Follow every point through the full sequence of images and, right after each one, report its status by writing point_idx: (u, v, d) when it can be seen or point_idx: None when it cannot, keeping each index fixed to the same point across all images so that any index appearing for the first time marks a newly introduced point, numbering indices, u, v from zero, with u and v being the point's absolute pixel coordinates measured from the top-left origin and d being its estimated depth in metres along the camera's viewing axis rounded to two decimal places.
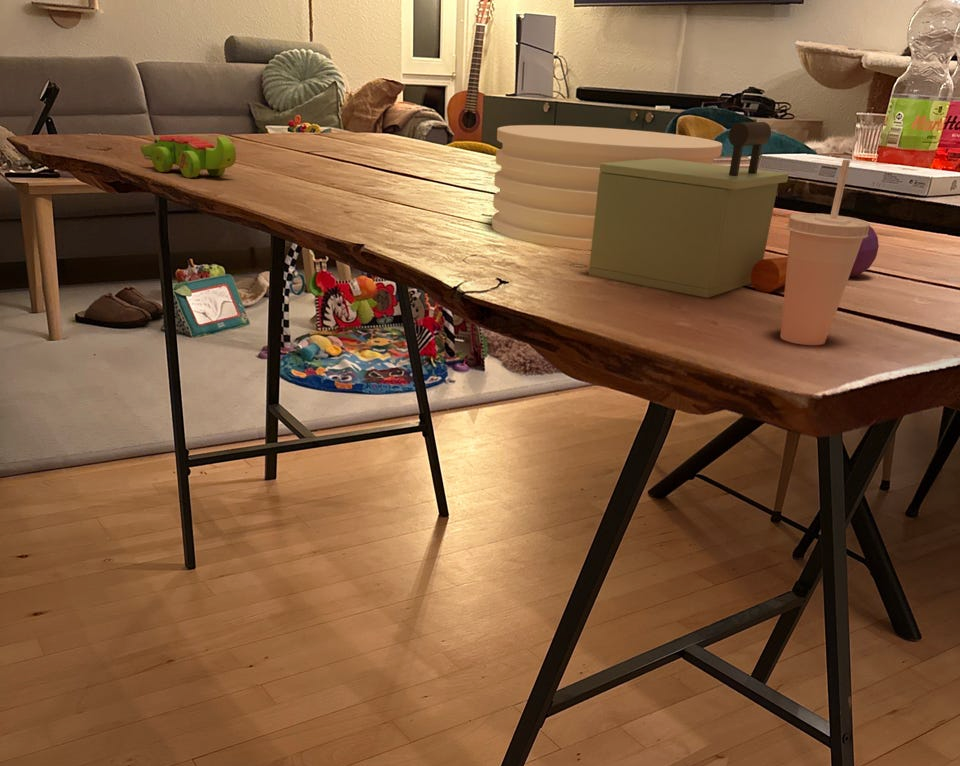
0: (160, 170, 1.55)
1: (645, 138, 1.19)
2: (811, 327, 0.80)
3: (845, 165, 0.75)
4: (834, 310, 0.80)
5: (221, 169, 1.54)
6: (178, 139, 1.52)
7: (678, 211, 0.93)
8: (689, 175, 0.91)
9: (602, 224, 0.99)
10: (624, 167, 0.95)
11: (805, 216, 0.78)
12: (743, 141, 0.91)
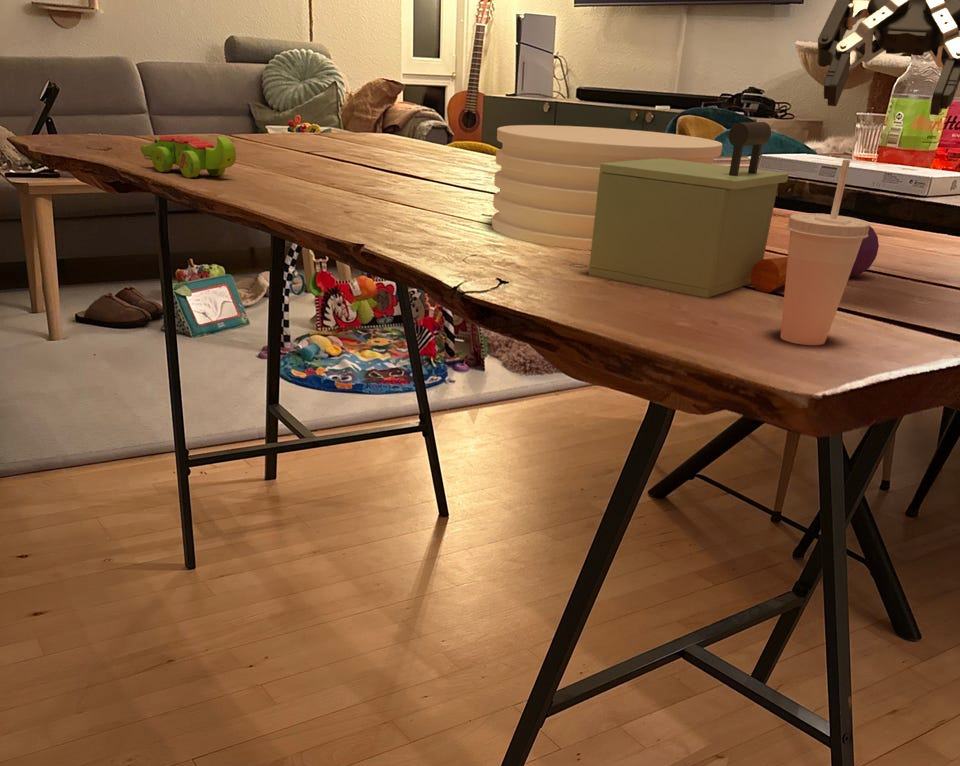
0: (160, 170, 1.55)
1: (645, 138, 1.19)
2: (811, 327, 0.80)
3: (845, 165, 0.75)
4: (834, 310, 0.80)
5: (221, 169, 1.54)
6: (178, 139, 1.52)
7: (678, 211, 0.93)
8: (689, 175, 0.91)
9: (602, 224, 0.99)
10: (624, 167, 0.95)
11: (805, 216, 0.78)
12: (743, 141, 0.91)
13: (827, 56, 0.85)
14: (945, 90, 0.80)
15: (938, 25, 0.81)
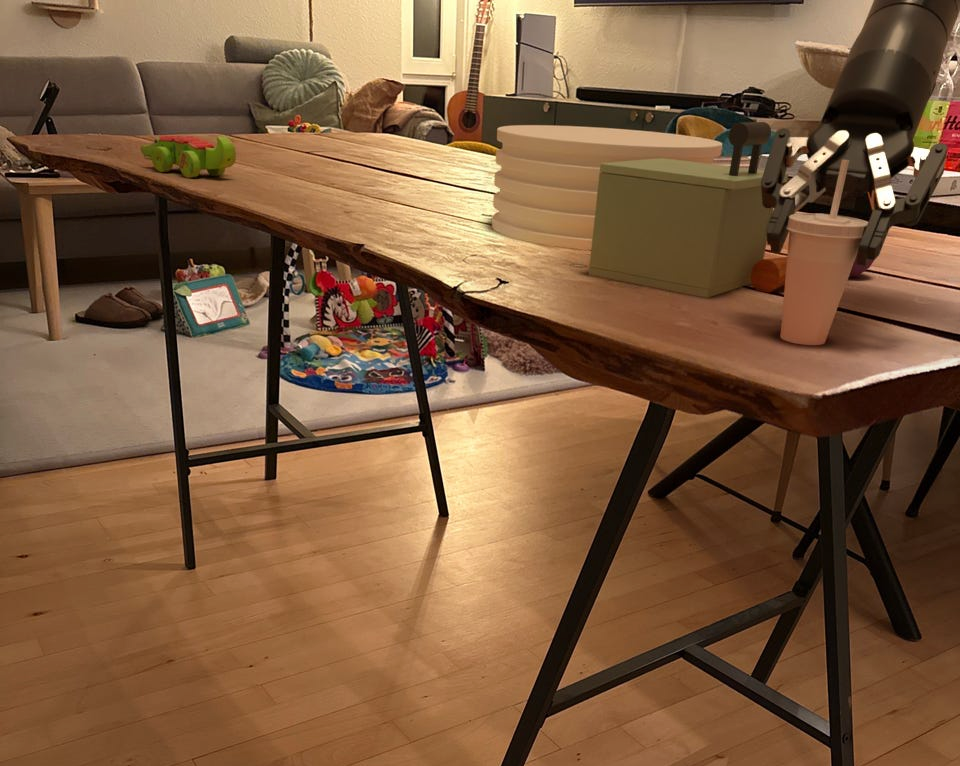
0: (160, 170, 1.55)
1: (645, 138, 1.19)
2: (811, 327, 0.80)
3: (844, 165, 0.75)
4: (834, 310, 0.80)
5: (221, 169, 1.54)
6: (178, 139, 1.52)
7: (678, 211, 0.93)
8: (689, 175, 0.91)
9: (602, 224, 0.99)
10: (624, 167, 0.95)
11: (804, 216, 0.78)
12: (743, 141, 0.91)
13: (771, 199, 0.80)
14: (872, 242, 0.76)
15: (871, 169, 0.76)
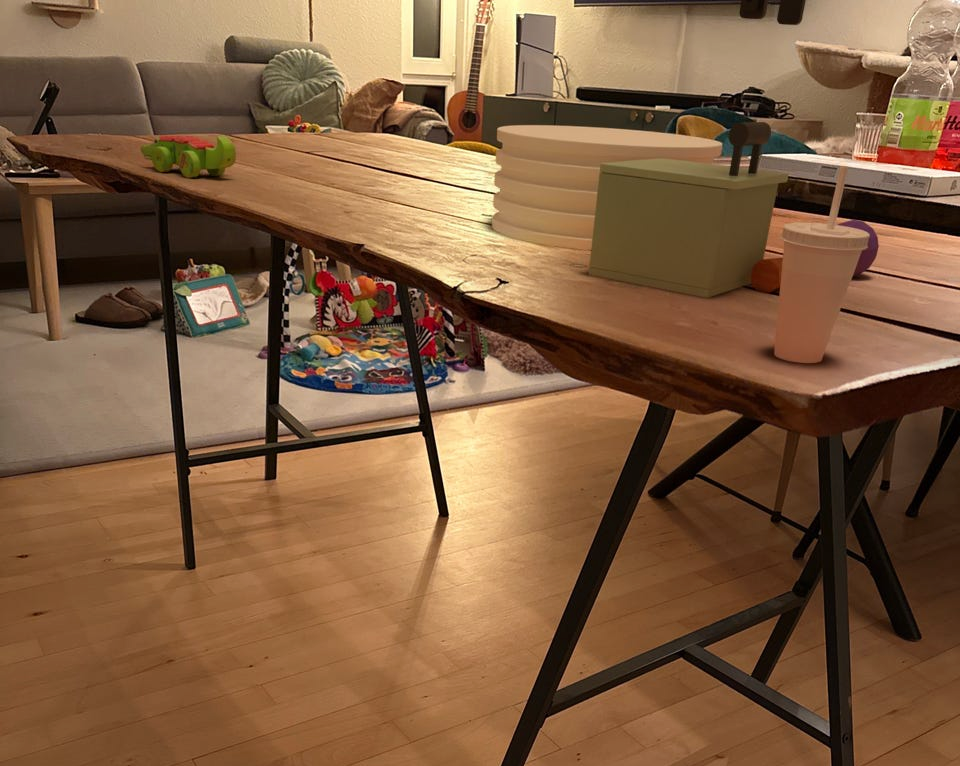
0: (160, 170, 1.55)
1: (645, 138, 1.19)
2: (806, 344, 0.75)
3: (843, 172, 0.70)
4: (832, 326, 0.75)
5: (221, 169, 1.54)
6: (178, 139, 1.52)
7: (678, 211, 0.93)
8: (689, 175, 0.91)
9: (602, 224, 0.99)
10: (624, 167, 0.95)
11: (800, 226, 0.73)
12: (743, 141, 0.91)
13: None
14: None
15: None
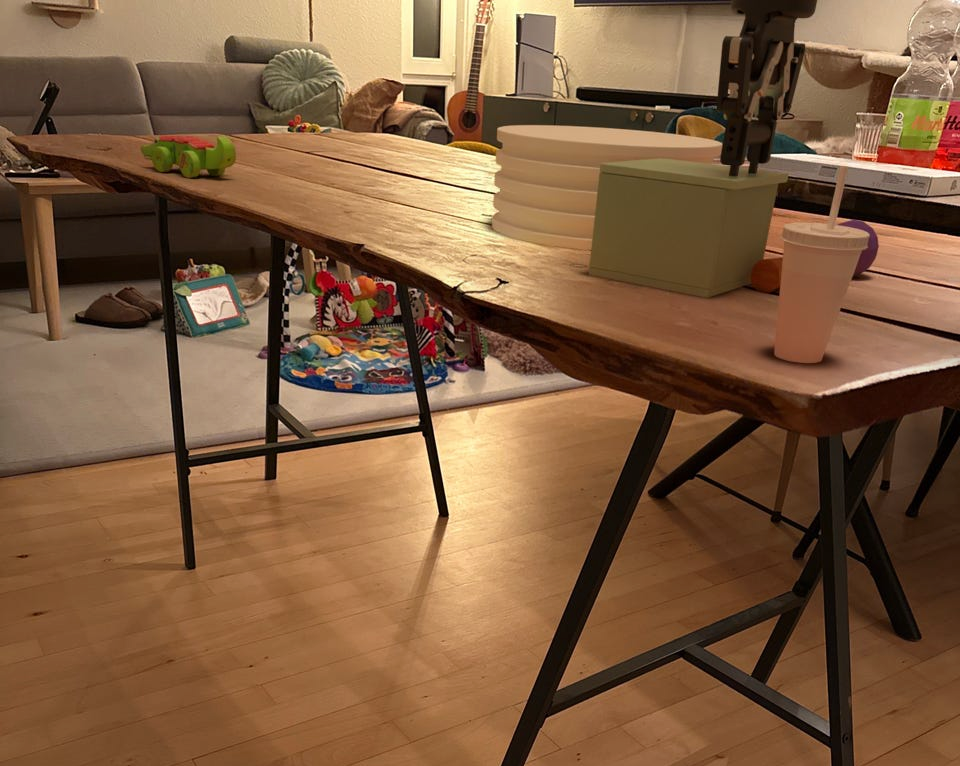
0: (160, 170, 1.55)
1: (645, 138, 1.19)
2: (806, 344, 0.75)
3: (843, 172, 0.70)
4: (832, 326, 0.75)
5: (221, 169, 1.54)
6: (178, 139, 1.52)
7: (678, 211, 0.93)
8: (689, 175, 0.91)
9: (602, 224, 0.99)
10: (624, 167, 0.95)
11: (800, 226, 0.73)
12: None
13: (733, 115, 0.88)
14: None
15: (783, 83, 0.91)
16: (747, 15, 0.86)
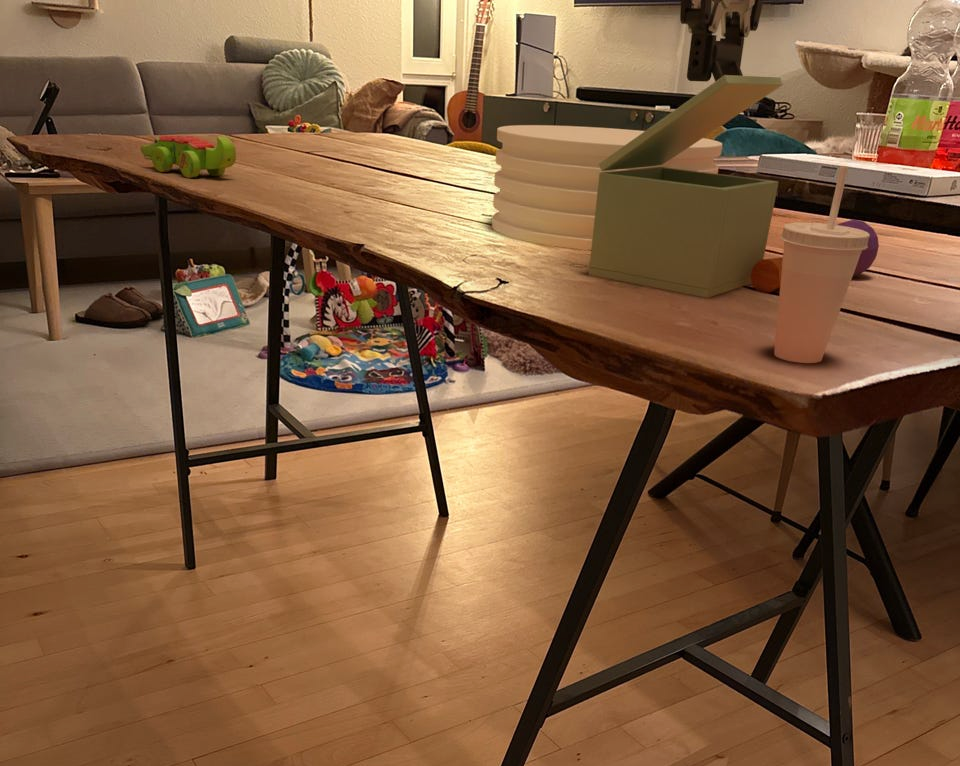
0: (160, 170, 1.55)
1: None
2: (806, 344, 0.75)
3: (843, 172, 0.70)
4: (832, 326, 0.75)
5: (221, 169, 1.54)
6: (178, 139, 1.52)
7: (678, 211, 0.93)
8: (680, 106, 0.90)
9: (602, 224, 0.99)
10: (620, 149, 0.94)
11: (800, 226, 0.73)
12: (715, 53, 0.89)
13: (698, 27, 0.87)
14: None
15: None
16: None
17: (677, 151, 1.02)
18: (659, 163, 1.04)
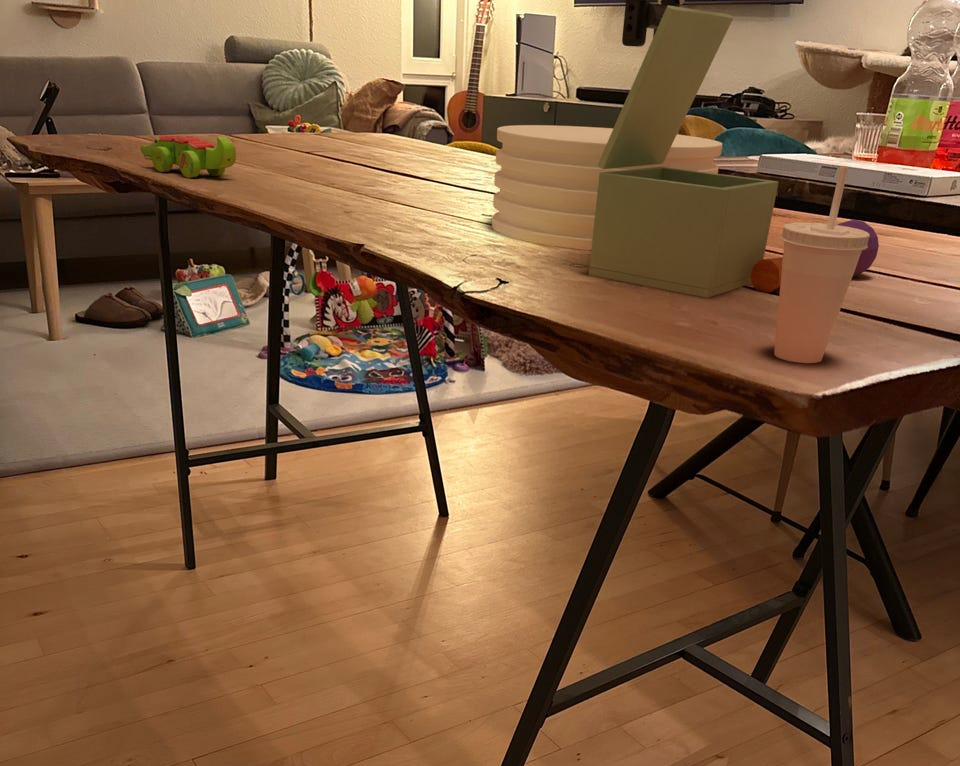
0: (160, 170, 1.55)
1: None
2: (806, 344, 0.75)
3: (843, 172, 0.70)
4: (832, 326, 0.75)
5: (221, 169, 1.54)
6: (178, 139, 1.52)
7: (678, 211, 0.93)
8: (643, 62, 0.90)
9: (602, 224, 0.99)
10: (610, 138, 0.95)
11: (800, 226, 0.73)
12: (653, 10, 0.91)
13: None
14: None
15: None
16: None
17: (669, 137, 1.02)
18: (659, 159, 1.04)
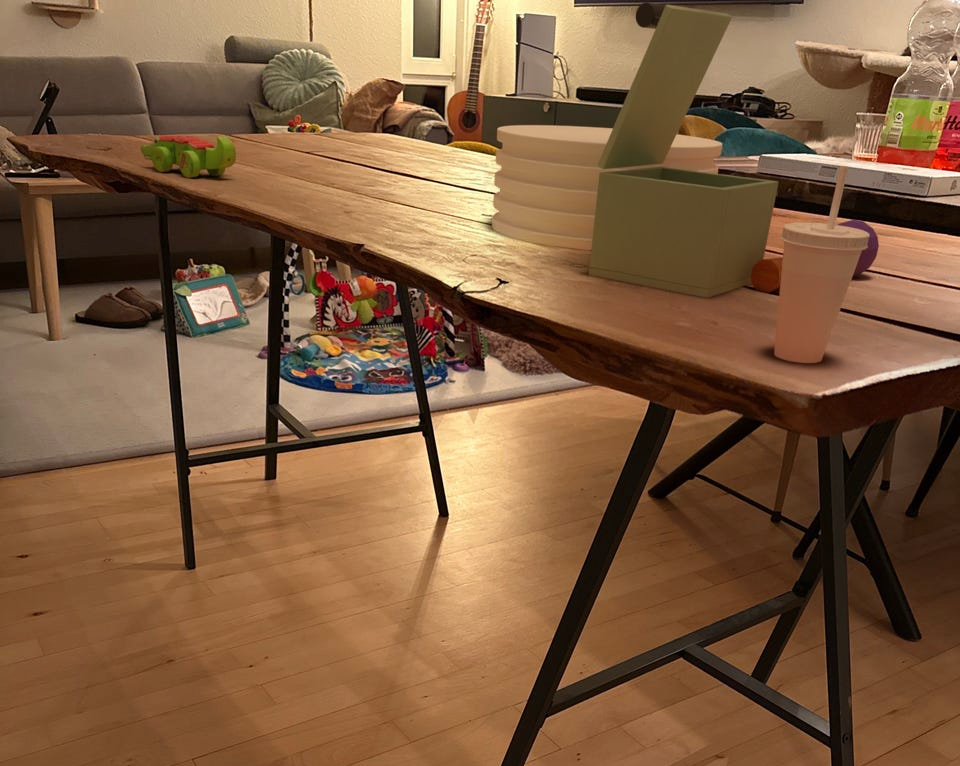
0: (160, 170, 1.55)
1: None
2: (806, 344, 0.75)
3: (843, 172, 0.70)
4: (832, 326, 0.75)
5: (221, 169, 1.54)
6: (178, 139, 1.52)
7: (678, 211, 0.93)
8: (642, 61, 0.90)
9: (602, 224, 0.99)
10: (609, 138, 0.95)
11: (800, 226, 0.73)
12: (651, 10, 0.91)
13: None
14: None
15: None
16: None
17: (669, 137, 1.02)
18: (659, 159, 1.04)
